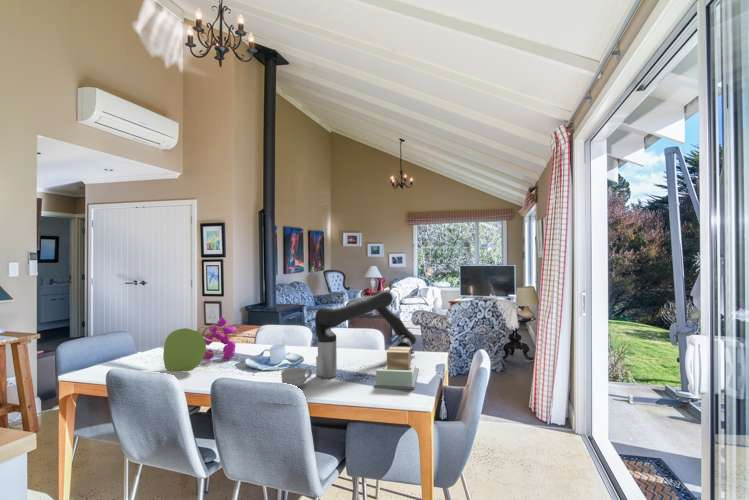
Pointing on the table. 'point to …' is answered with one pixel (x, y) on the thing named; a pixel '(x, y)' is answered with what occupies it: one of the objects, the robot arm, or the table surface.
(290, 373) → the teacup
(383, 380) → the roller track
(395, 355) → the wood grain cube
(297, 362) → the table surface
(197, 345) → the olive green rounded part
